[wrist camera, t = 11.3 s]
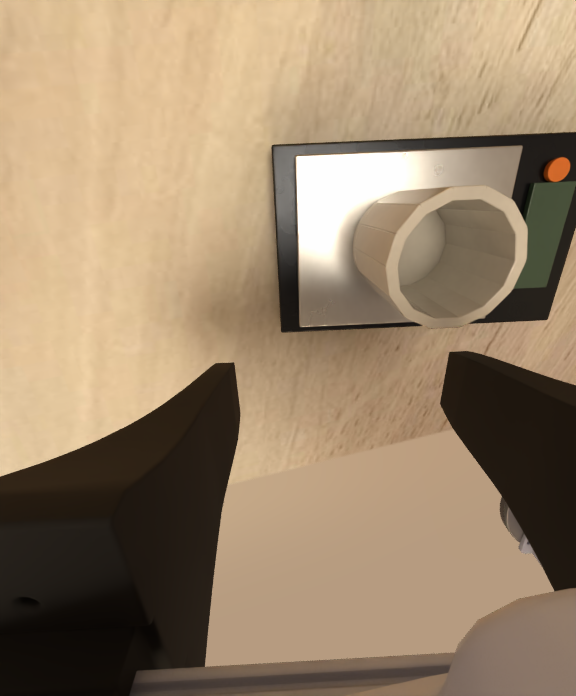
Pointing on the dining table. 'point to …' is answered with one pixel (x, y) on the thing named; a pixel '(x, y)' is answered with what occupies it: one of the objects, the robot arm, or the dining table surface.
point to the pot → (442, 252)
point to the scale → (399, 175)
